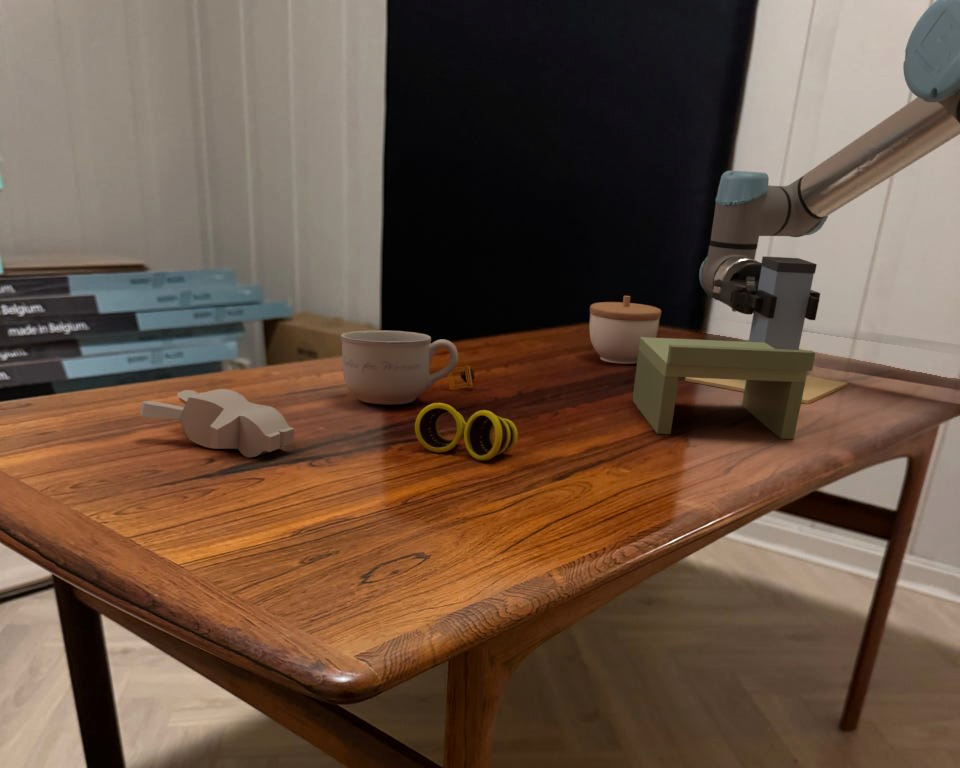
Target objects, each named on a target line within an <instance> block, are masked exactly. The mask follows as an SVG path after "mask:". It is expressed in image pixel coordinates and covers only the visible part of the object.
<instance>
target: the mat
mask: <svg viewBox="0 0 960 768" xmlns="http://www.w3.org/2000/svg"><path fill="white" fill-rule="evenodd" d="M684 378H685V379H684V381H685V382H688V383H694V384H700V385H704V386H708V387H709V386H710V387H715V388H719V389H725V390H730V391H735V392H736V391H737V392H741V393H742V392H743V393H744V390H745V384H746V380H736V379H713V378H689V377H684ZM847 386H848V382H845V381H839V380H833V379H828V378H821V377H815V376H811V375H807V377H806V382H805V387H804V391H803V396H802V401H801V404H804V405H805V404H806V405H809V404H811V403H813V402H815V401H817V400H819V399H820V400H821V399H822V398H824V397H826V396H829V395H830V394H832V393H835V392H837V391H839V390H841V389H844V388H846V387H847Z"/></svg>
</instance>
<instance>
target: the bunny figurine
mask: <svg viewBox="0 0 960 768" xmlns="http://www.w3.org/2000/svg"><path fill="white" fill-rule="evenodd" d="M176 395H177V397H178V400H179V401H180V402H181V403H182V404H184V405H183V406H180V405H177V404H176V405H175V404H171V403H166V402H161V401H155V400H154V401H153V400H143V401H142V403H141V407H140V411H139V415H140V416H141V417H145V418H152V419H154V418H155V419H166V420H167V419H168V420H178V421H179V423H180V425H181V427H182V430H183V431H184V433H185V435H186V437H187V439H188V440H189V441H191V442H193V443H195V444H196V445H199V446H201V447H204V448H207V449H212V450H213V449H216V450H217V449H219V450H221V449H223V450H224V449H225V450H227V449H229V450H230V449H233V450H238V451H239V453H240V454H241V455H242V456H244V457H246V458H250V459H251V458H253V457H254V458H255V457H259V456H261V455H264V454H266V453H271V452H274V451H276V450H279V449H280V448H283V447H284V448H285V447H287V446H290V445H293V444H294V441H295V440H294V439H295V428H294V427H291V426H290V425H289V423H288V422H287V420H286V419H285V416H283V415H282V414H281V413H280V412H279V411H278V409H277V408H275V407H273V406H271V405H264V404H260V403H254V402H251V401H248V400H247V398H246V397H244V395H243V394H240V393H239V392H237V391H236V390H235V391H234V390H231V389H227V388H217V389H213V390H209V391H204V392H200V393H198V392H197V391H195V390H192V389H186V390H181V391H179V392H178V393H177V394H176Z"/></svg>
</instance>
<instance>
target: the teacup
mask: <svg viewBox="0 0 960 768" xmlns="http://www.w3.org/2000/svg"><path fill="white" fill-rule="evenodd" d="M340 339H341V356H342V357H341V358H342V361H341V362H342V373H343V381H344V383H345V386H346V388H347V389H348V390H349V392H351V393H352V394H353V395H355V396H356V398H357V399H358V400H359V401H360V402H363V403H366V404H370V405H371V404H372V405H385V406H386V405H388V406H389V405H390V406H393V405H394V406H395V405H396V406H397V405H405V404H410V403H412V402H414V401H415V400H416V399H417V398H418V397H419V396H420V395H421V394H422V393H424V391H425V390H427V389H431V388H432V387H434V385H435V383H436V382H438V381H439V380H440V381H441V379H443V378H445V377H448V374H449V373H451V372H453V371H452V370H455V369H454V368H457V367H456V366H457V364H458V361H459V352H458V349H457V347H456V345H455V344H454V343H453V342H452V341H450V340H448V339H437V340H435V341H433V342H432V337H431V336H430V335H428V334H425V333H420V332H415V331H414V332H413V331H403V330H381V329H380V330H379V329H378V330H357V331H348V332H343V333H341V335H340ZM439 349H445V350H447V351H448V353H449V356H450V357H449V361H448V363H447V364H446V366H444V367H443V368H441V369H440V370H439V371H436V372H434V373H430V371H431V369H430V368H431V362H432V361H433V359H434V357H435V353H436V352H437V350H439Z"/></svg>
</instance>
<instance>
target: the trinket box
mask: <svg viewBox="0 0 960 768" xmlns="http://www.w3.org/2000/svg"><path fill="white" fill-rule="evenodd" d="M661 316H662V310H661V308H658V307H656V306H653V305H648V304H643V303H633V302H631V295H623V301H622V302H621V301H604V302H602V301H601V302H594V303H592V304H590V306H589V326H588V327H589V329H588V330H589V336H590V337H589V339H590V342H591V345H592V347H593V349H594V351H595V352H596V353H597V355H598V356H599V359H600V360H601V361H603V362H607V363H613V364H621V365H632V364H637V359H638V351H639V342H640V337H649V338H657V335H658V331H659V327H660V319H661Z"/></svg>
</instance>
